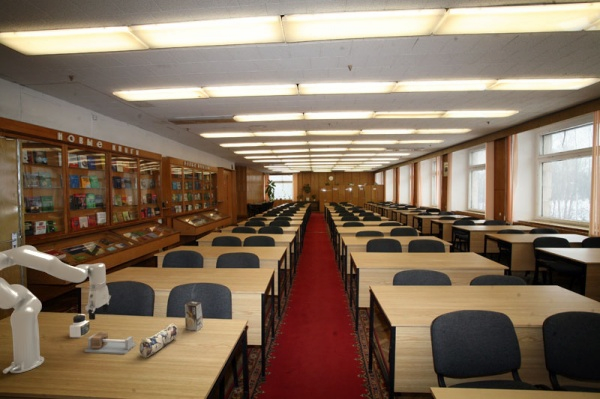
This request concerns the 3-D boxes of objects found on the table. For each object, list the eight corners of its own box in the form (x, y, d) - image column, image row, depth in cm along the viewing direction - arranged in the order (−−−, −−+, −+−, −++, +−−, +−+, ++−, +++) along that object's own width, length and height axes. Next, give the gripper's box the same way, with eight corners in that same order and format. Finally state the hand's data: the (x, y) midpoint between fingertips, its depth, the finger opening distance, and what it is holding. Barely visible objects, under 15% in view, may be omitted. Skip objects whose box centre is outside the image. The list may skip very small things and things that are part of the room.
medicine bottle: (81, 337, 172) (80, 318, 171) (69, 337, 172) (68, 318, 172) (90, 331, 179) (89, 313, 179) (78, 331, 179) (78, 312, 179)
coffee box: (203, 326, 185) (202, 302, 184) (197, 331, 179) (196, 306, 178) (191, 324, 188) (190, 300, 187) (184, 329, 182) (184, 304, 181)
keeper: (99, 348, 157) (99, 338, 157) (91, 348, 158) (91, 337, 157) (108, 342, 163) (107, 332, 163) (100, 342, 163) (99, 332, 163)
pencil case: (150, 359, 149) (150, 341, 149) (138, 356, 152) (137, 339, 152) (179, 338, 170) (179, 322, 170) (168, 336, 173) (168, 320, 172)
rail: (125, 354, 154) (124, 342, 154) (84, 352, 156) (83, 340, 156) (136, 345, 163) (135, 334, 163) (97, 343, 165) (97, 332, 165)
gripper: (91, 291, 151) (93, 323, 151) (115, 280, 168) (116, 309, 169) (78, 291, 151) (79, 322, 152) (103, 280, 168) (104, 308, 169)
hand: (99, 315), depth 160 cm, fingers open, 9 cm apart
